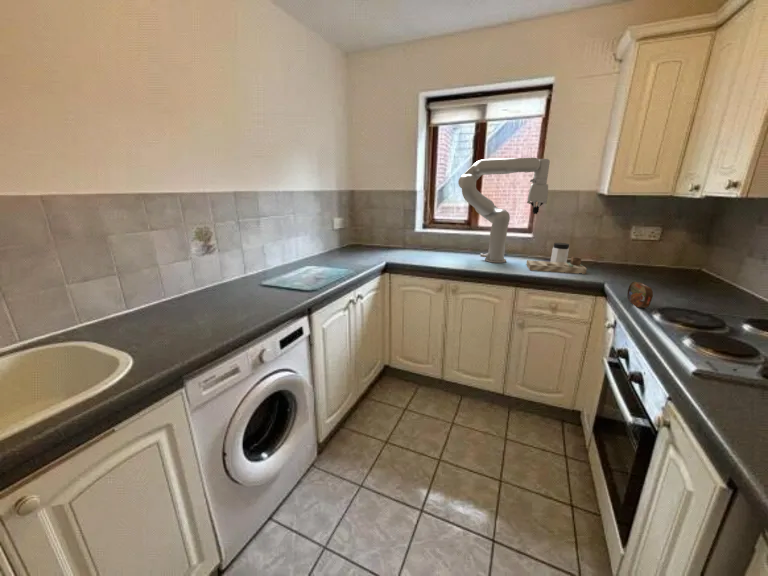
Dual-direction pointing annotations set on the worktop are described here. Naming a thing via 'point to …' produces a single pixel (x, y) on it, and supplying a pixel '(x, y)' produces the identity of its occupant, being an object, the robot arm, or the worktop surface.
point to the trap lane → (555, 267)
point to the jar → (560, 252)
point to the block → (575, 260)
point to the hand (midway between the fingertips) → (535, 213)
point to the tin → (639, 294)
